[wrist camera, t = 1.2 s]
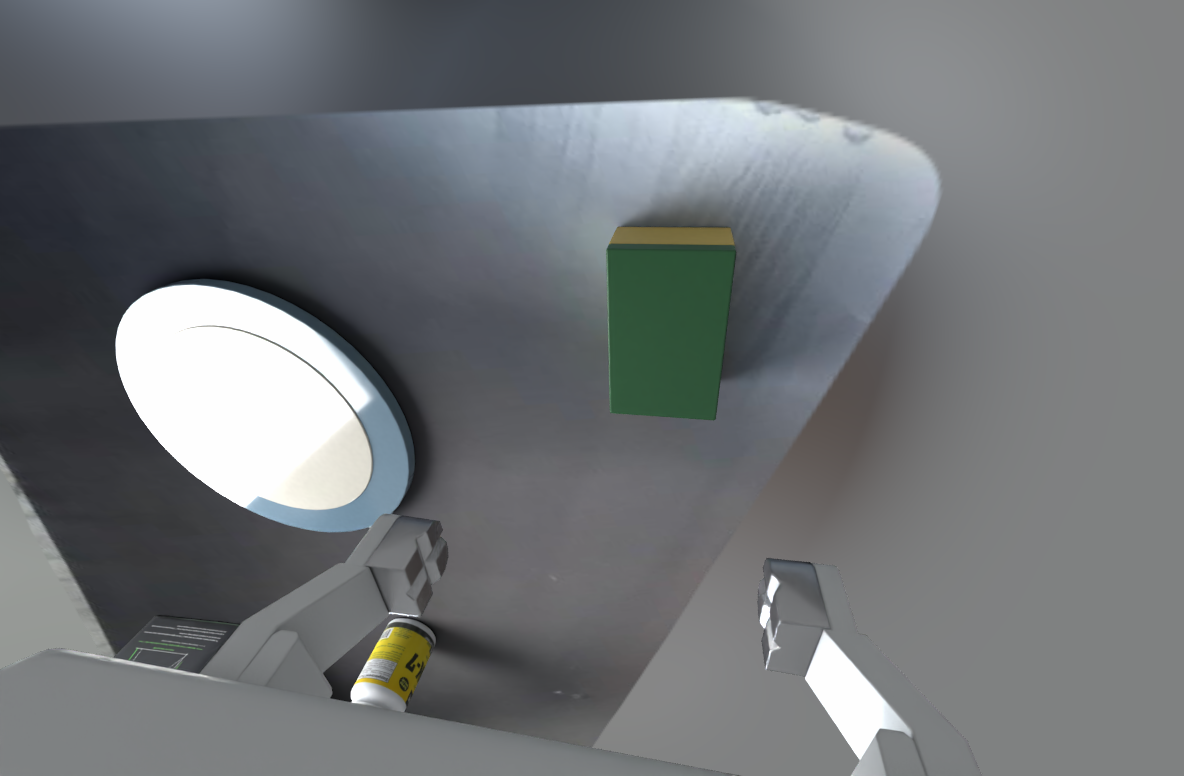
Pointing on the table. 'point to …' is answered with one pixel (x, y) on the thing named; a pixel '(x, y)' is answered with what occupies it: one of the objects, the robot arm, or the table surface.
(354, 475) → the plate
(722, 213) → the table surface
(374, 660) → the supplement bottle
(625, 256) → the sponge
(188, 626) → the headset box
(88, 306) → the table surface
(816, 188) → the table surface
